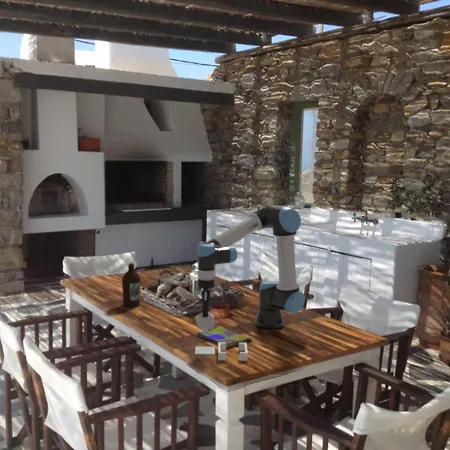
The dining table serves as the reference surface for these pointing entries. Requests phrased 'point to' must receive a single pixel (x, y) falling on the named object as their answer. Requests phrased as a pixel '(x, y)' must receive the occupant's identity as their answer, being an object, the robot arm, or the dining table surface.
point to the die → (205, 322)
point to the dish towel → (223, 337)
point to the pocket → (241, 348)
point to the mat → (204, 350)
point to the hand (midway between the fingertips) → (205, 328)
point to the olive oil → (131, 287)
